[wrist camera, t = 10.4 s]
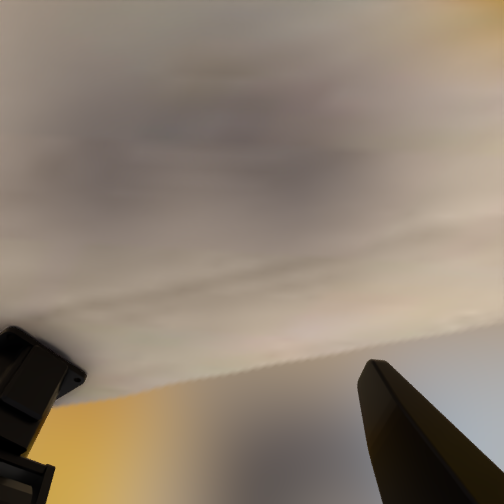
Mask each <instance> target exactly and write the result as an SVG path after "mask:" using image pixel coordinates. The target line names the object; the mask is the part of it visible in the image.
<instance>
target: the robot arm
mask: <svg viewBox="0 0 504 504" xmlns="http://www.w3.org/2000/svg"><path fill="white" fill-rule="evenodd" d="M86 377H87V376H86V374H85V373H84V372H82V371H81V370H79V369H78V368H76V367H75V366H73V365H72V364H70V363H69V362H67V361H66V360H64V359H63V358H61V357H60V356H58V355H57V354H55V353H53V352H52V351H50V350H49V349H47V348H46V347H44V346H43V345H41V344H40V343H38V342H37V341H35V340H34V339H32V338H31V337H29V336H28V335H26V334H25V333H23V332H22V331H20V330H19V329H17V328H13V327H9V328H7V329H6V330H4V331H3V332H1V333H0V504H46V501H47V497H48V493H49V490H50V486H51V482H52V479H53V474H54V471H55V467H54V466H52V465H49V464H46V465H44V464H41V463H39V462H36V461H33V460H31V459H28V458H27V456H28V454H29V452H30V450H31V448H32V446H33V444H34V442H35V440H36V438H37V436H38V434H39V432H40V430H41V428H42V426H43V424H44V422H45V420H46V418H47V416H48V414H49V412H50V410H51V408H52V406H53V404H54V402H55V400H57V399H58V398H60V397H62V396H63V395H65V394H67V393H68V392H70V391H72V390H73V389H75V388H77V387H78V386H80V385H81V384H83V383H84V382H85V380H86ZM357 388H358V395H359V401H360V407H361V412H362V418H363V424H364V430H365V435H366V441H367V446H368V451H369V455H370V459H371V463H372V466H373V470H374V474H375V477H376V481H377V484H378V487H379V492H380V495H381V499H382V502H383V504H504V472H503V471H501V469H499V468H498V467H497V466H496V465H495V464H494V463H493V462H492V461H491V460H490V459H489V458H488V457H487V456H486V455H484V453H483V452H482V451H481V450H479V449H478V448H477V447H476V446H475V445H474V444H473V443H472V442H471V441H470V440H469V439H468V438H467V437H466V436H465V435H464V434H463V433H462V432H460V431H459V430H458V429H457V428H456V427H455V426H454V425H453V424H452V423H451V422H450V421H449V420H448V419H447V418H446V417H445V416H444V415H443V414H442V413H440V412H439V411H438V410H437V409H436V408H435V407H434V406H433V405H432V404H431V403H430V402H429V401H428V400H427V399H426V398H425V397H424V396H423V395H422V394H421V393H420V392H418V391H417V390H416V389H415V388H414V387H413V386H412V385H411V384H410V383H409V382H408V381H407V380H406V379H405V378H404V377H403V376H402V375H401V374H400V373H398V372H397V371H396V370H395V369H394V368H393V367H392V366H391V365H390V364H389V363H388V362H386V361H384V360H375V359H370V360H369V361H368V362H367V363H366V365H365V367H364V369H363V371H362V373H361V375H360V377H359V380H358V384H357Z"/></svg>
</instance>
